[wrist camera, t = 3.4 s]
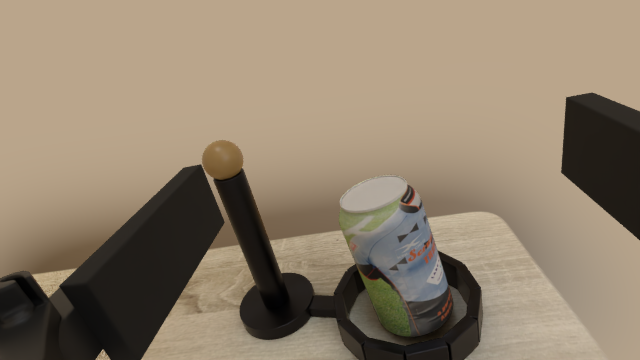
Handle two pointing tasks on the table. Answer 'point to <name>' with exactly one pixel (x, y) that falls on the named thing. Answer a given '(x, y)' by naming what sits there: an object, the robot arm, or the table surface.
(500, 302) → the table surface
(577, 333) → the table surface
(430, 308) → the beverage can
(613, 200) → the robot arm
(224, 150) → the can holder
